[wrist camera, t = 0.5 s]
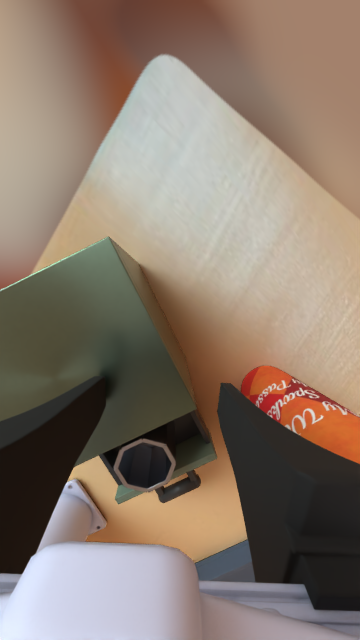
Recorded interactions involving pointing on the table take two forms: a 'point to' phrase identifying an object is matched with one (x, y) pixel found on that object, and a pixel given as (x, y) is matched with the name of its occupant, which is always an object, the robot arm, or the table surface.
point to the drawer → (190, 454)
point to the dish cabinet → (92, 345)
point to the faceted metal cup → (148, 459)
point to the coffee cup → (304, 411)
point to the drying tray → (228, 565)
